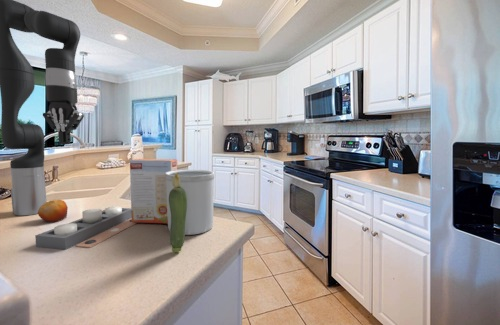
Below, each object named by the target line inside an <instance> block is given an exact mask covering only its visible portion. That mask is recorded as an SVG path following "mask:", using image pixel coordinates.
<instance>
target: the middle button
mask: <svg viewBox="0 0 500 325" xmlns="http://www.w3.org/2000/svg"><path fill="white" fill-rule="evenodd" d="M102 211H103V209H101V208H90V209H86V210H83V211H82V212H81V213H82V218H83V223H88V224H89V223H96V222H99V221H101V220H102Z"/></svg>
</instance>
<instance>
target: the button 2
mask: <svg viewBox="0 0 500 325" xmlns="http://www.w3.org/2000/svg"><path fill="white" fill-rule="evenodd" d="M122 208H123V207H122V206H120V205H119V206H117V205H115V206H107V207H105V208H104V210H105V214H112V215H116V214H118V213H121V212H122Z"/></svg>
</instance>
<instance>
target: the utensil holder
mask: <svg viewBox="0 0 500 325" xmlns="http://www.w3.org/2000/svg"><path fill="white" fill-rule="evenodd" d="M176 173H178V174H179V175H178V176H179V178H180V182H181V186H180V187H182V188H183V189H184V190H185V191H186V194H187V213H186V223H185V236H190V235H192V236H193V235H200V234H203V233H207V232H209V231H210V230H211V229H212V228H213V224H214V192H215V189H214V188H215V182H214V181H215V180H214V179H215V177H216V174H215V172H214V171H213V170H209V169H178V170H177V171H170V172H166V173H165V177H166V181H167V216H168V224H167V228H168V231H169V232H170V229H171V212H170V205H169V193H170V191H171V190H172V189H173V188H174V187H173V185H172V181H173V178H174V176H175V174H176Z"/></svg>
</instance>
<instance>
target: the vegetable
mask: <svg viewBox="0 0 500 325" xmlns="http://www.w3.org/2000/svg"><path fill="white" fill-rule="evenodd" d="M178 175H179V174H178V173H176V174H175V176H174V178H173V181H172V185H173V187H174V188H173V189H172V190H171V191H170V193H169V205H170V212H171V229H170V231H169V238H170V239H169V240H170V242H169V243H170V246H171V251H172V253H173V254H174V253H179V252H182V248H183V246H184V243H185V236H186V235H185V223H186V213H187V194H186V191H185V190H184V189H183V188H182V187H180V186H181V182H180V178H179V176H178Z"/></svg>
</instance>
